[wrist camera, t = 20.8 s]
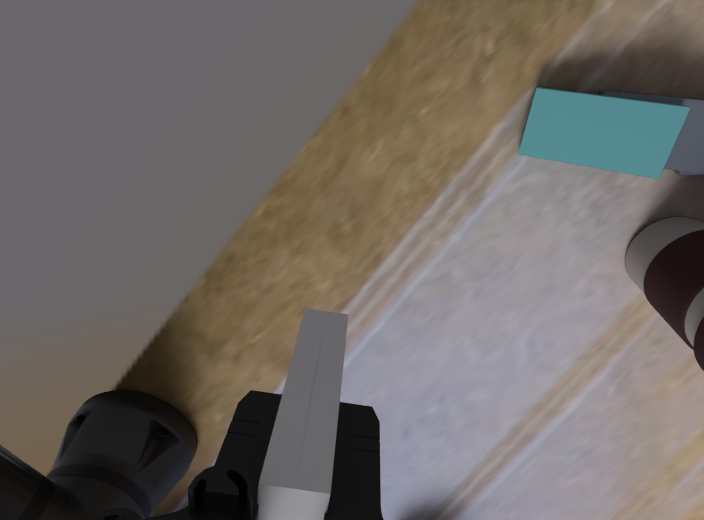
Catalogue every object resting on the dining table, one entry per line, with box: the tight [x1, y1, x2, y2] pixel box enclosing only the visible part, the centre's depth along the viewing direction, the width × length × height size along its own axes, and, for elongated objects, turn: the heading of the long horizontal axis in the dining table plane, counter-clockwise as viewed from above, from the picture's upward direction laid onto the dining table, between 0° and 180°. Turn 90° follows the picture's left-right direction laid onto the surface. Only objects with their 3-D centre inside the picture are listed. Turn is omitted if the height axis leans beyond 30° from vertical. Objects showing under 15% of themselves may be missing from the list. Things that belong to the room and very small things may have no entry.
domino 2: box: [600, 90, 704, 174], centre depth 32 cm, size 2×5×10 cm
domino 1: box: [518, 87, 690, 179], centre depth 32 cm, size 2×5×10 cm
